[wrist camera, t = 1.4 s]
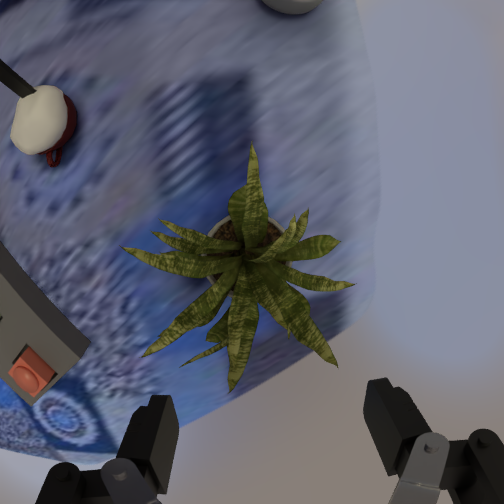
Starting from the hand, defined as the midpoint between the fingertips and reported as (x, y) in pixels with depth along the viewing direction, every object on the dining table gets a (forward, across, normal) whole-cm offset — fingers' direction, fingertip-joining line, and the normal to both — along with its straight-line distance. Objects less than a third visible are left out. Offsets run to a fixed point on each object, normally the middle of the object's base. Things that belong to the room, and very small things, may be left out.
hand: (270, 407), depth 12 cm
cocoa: (+19, +18, -16) cm, 31 cm away
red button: (+17, +26, +10) cm, 33 cm away
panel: (+18, +32, +3) cm, 37 cm away
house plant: (+20, +2, -4) cm, 21 cm away
